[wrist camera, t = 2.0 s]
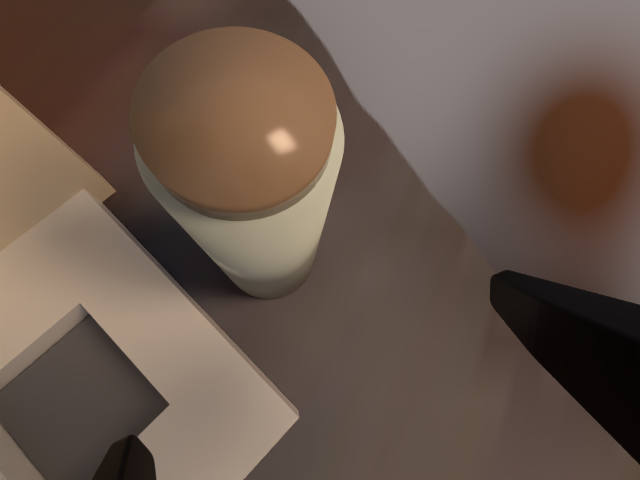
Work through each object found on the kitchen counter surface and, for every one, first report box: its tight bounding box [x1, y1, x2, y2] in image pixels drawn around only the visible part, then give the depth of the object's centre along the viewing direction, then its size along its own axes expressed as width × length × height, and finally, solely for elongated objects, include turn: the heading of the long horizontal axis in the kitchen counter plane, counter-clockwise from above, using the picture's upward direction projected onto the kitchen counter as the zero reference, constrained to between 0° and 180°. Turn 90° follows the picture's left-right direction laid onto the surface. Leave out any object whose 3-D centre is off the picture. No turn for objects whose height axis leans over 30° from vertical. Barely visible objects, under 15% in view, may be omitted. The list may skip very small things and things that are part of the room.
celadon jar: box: [129, 27, 344, 299], centre depth 15 cm, size 5×5×14 cm
